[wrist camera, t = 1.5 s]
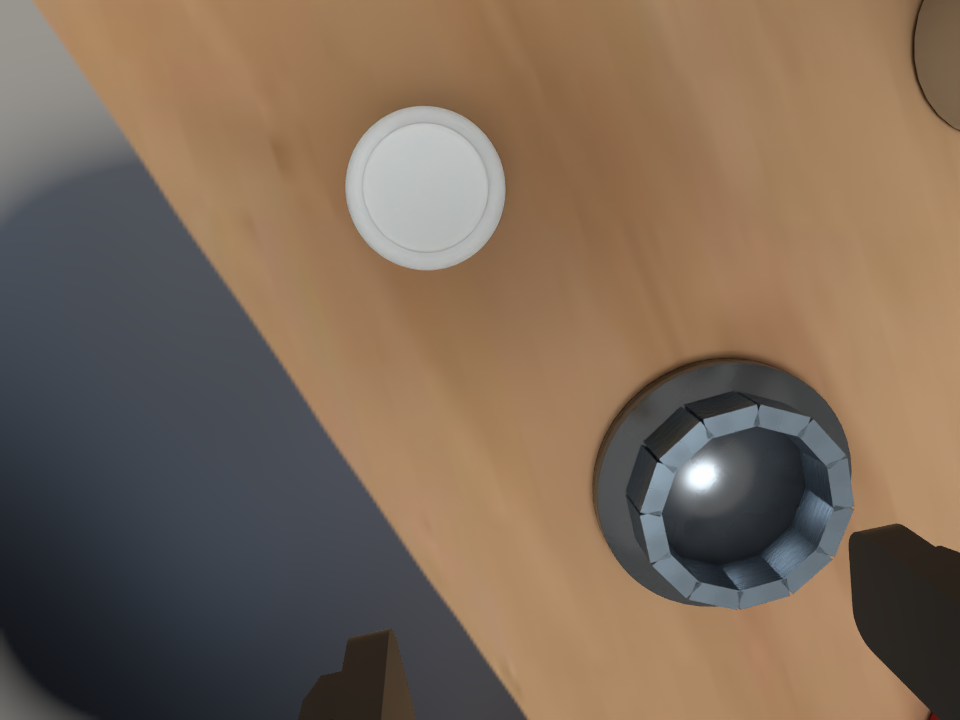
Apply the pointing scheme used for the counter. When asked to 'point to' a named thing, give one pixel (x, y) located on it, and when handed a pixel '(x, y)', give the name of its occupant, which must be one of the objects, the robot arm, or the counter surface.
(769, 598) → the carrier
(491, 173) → the supplement bottle
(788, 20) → the counter surface
